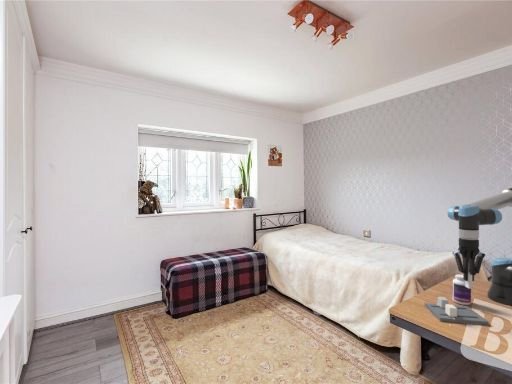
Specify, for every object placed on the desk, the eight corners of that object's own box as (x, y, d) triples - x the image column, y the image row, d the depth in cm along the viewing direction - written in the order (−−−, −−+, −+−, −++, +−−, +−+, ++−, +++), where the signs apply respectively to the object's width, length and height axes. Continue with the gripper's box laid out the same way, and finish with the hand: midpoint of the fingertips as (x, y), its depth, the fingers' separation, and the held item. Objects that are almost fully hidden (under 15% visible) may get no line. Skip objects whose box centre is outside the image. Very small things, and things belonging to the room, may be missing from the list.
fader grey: (443, 304, 137) (444, 297, 136) (448, 308, 133) (448, 300, 133) (437, 304, 137) (437, 296, 137) (441, 307, 133) (441, 299, 133)
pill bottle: (474, 306, 139) (475, 279, 139) (456, 305, 141) (457, 278, 140) (465, 300, 147) (466, 274, 146) (449, 298, 148) (449, 273, 148)
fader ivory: (452, 312, 128) (452, 304, 128) (456, 316, 124) (457, 308, 124) (445, 312, 128) (445, 304, 128) (449, 316, 124) (449, 307, 124)
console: (467, 308, 136) (467, 305, 136) (489, 325, 120) (489, 321, 120) (424, 305, 140) (424, 302, 140) (440, 321, 124) (440, 317, 124)
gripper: (479, 236, 128) (479, 285, 129) (449, 236, 130) (449, 284, 131) (489, 240, 121) (489, 291, 122) (457, 239, 123) (458, 290, 124)
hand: (468, 287), depth 126 cm, fingers closed
